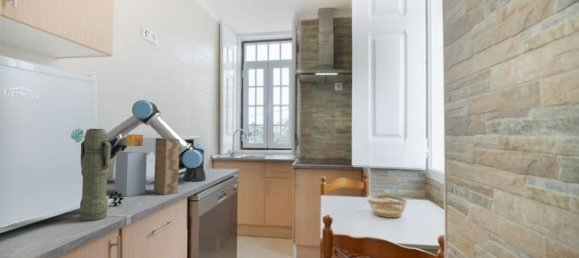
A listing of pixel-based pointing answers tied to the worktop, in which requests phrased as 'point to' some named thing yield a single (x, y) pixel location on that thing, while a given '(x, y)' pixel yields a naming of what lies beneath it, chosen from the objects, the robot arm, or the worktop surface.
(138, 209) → the worktop surface
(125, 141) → the lockout bar
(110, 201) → the valve
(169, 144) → the wooden upright block
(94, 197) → the thermos
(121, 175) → the grey upright pillar
